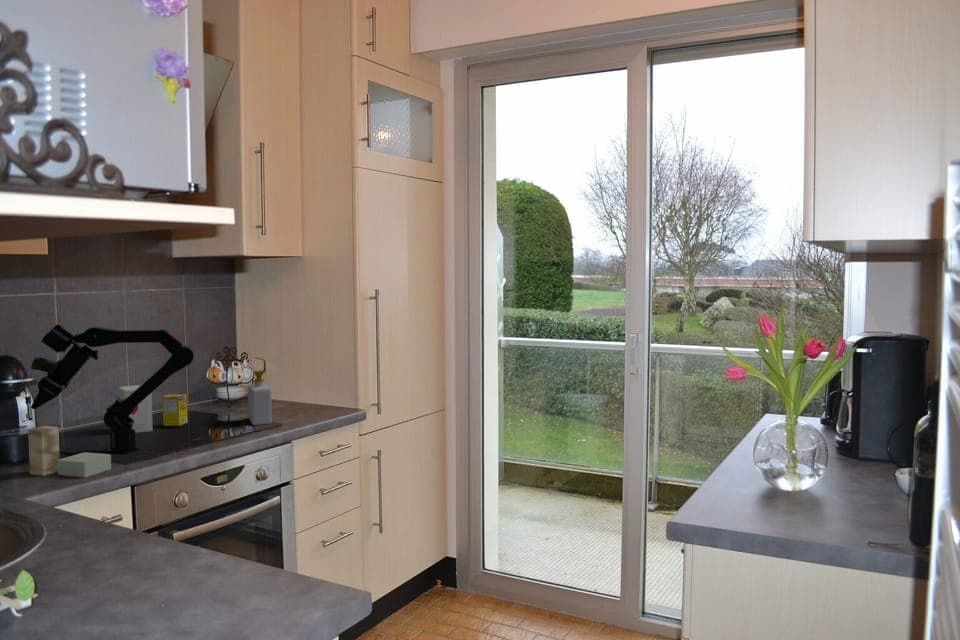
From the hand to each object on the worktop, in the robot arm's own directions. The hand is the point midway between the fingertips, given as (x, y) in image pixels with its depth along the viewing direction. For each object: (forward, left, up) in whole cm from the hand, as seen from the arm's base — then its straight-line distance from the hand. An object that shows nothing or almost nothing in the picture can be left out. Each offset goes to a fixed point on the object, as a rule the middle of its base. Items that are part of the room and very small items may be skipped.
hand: (35, 405), depth 218 cm
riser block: (-26, +8, -15) cm, 31 cm away
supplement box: (-8, -49, -15) cm, 52 cm away
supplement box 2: (0, -39, -15) cm, 42 cm away
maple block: (-16, +12, -15) cm, 25 cm away
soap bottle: (-32, -64, -15) cm, 73 cm away
